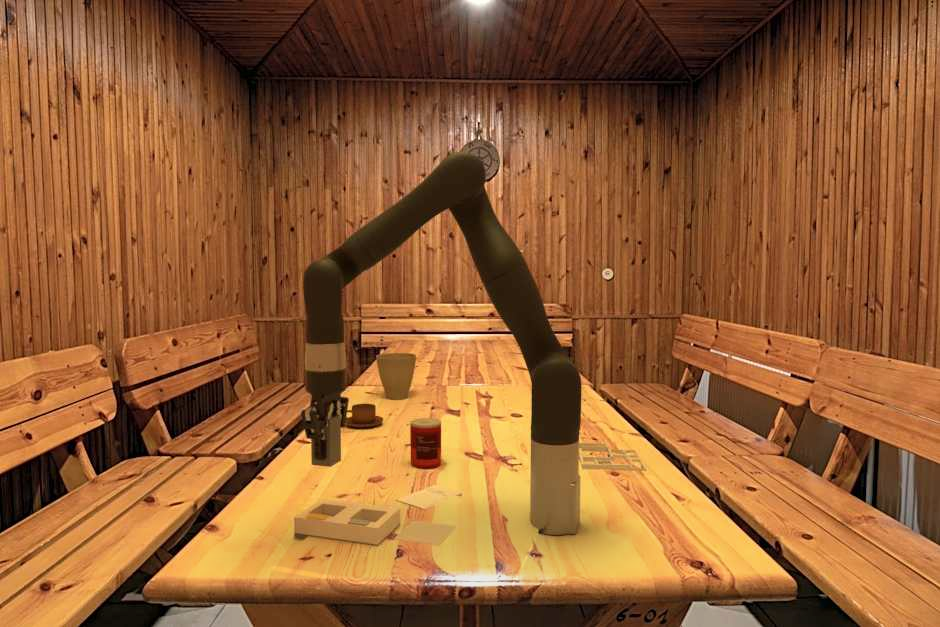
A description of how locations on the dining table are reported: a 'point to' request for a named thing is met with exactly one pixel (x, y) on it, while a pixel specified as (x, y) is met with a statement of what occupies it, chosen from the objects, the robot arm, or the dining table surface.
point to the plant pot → (396, 373)
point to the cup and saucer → (363, 416)
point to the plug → (330, 443)
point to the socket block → (347, 522)
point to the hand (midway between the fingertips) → (326, 455)
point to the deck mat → (425, 532)
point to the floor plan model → (608, 458)
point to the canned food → (425, 443)
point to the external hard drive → (429, 496)
